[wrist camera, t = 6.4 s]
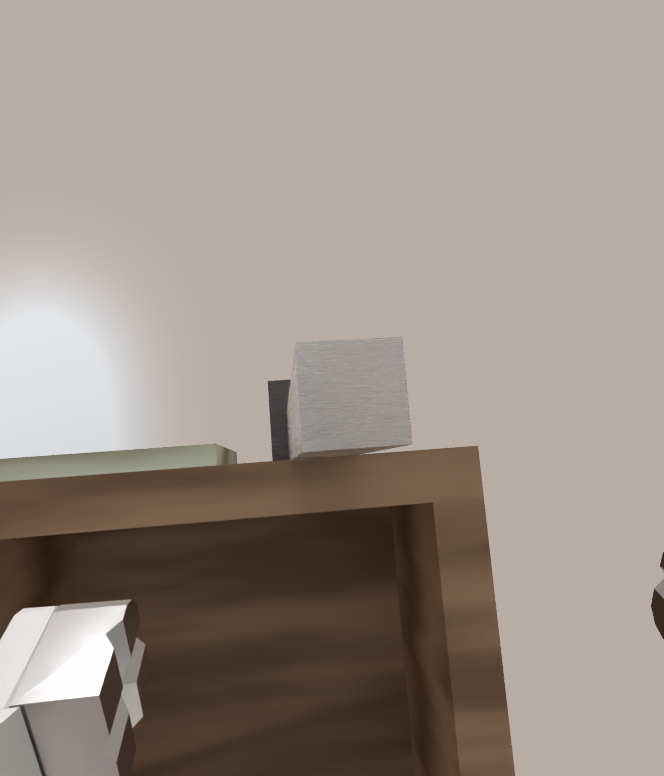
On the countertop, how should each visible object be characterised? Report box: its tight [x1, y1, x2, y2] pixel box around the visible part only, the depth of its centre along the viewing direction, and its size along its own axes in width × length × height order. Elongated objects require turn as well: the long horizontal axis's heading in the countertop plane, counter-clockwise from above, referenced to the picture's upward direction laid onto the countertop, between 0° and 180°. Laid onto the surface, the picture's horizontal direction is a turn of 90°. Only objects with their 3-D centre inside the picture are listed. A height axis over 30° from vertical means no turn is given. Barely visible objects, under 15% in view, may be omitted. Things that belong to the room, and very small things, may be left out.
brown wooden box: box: [0, 444, 515, 776], centre depth 24 cm, size 10×20×27 cm, turn 95°
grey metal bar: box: [268, 337, 412, 461], centre depth 23 cm, size 21×4×4 cm, turn 5°
